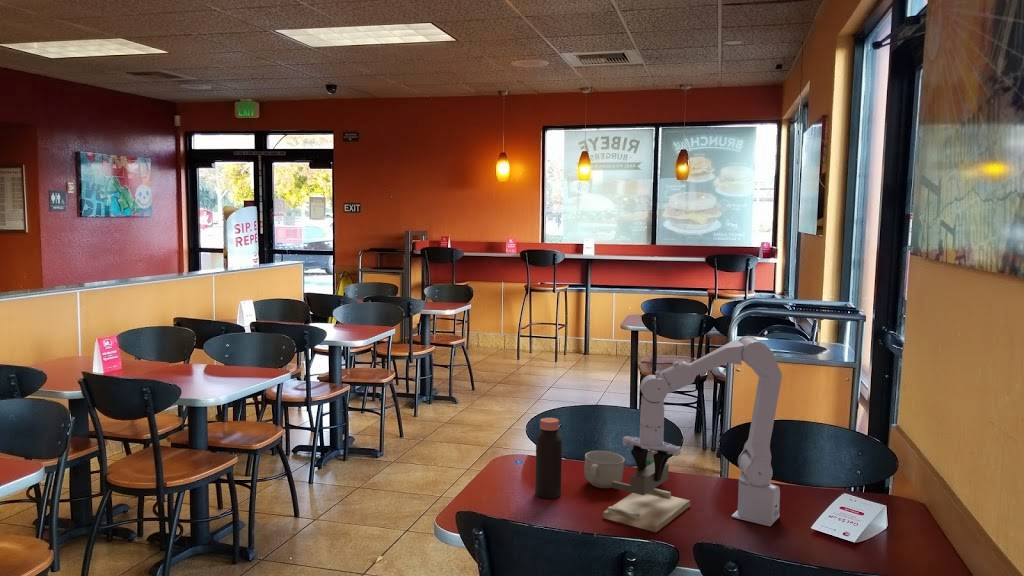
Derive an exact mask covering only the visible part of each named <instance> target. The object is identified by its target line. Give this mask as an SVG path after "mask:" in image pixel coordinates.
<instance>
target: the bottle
mask: <svg viewBox="0 0 1024 576" xmlns="http://www.w3.org/2000/svg"><path fill="white" fill-rule="evenodd" d="M559 426H560V420H559V419H558V418H556V417H543V418H541V419H540V420H539V430H540V433H539V434H538V435H537V437H535V438H536V439H535V478H534V479H535V484H534V485H535V489H534V492H535V495H536V497H538V498H541V499H547V500H548V499H549V500H552V499H557V498H559V497H560V496H561V495H562V462H563V461H562V459H563V457H562V456H563V454H562V453H563V438H562V437H561V436H560V434H559V433H558V432H559V428H560V427H559Z"/></svg>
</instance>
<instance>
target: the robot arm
mask: <svg viewBox="0 0 1024 576" xmlns="http://www.w3.org/2000/svg"><path fill="white" fill-rule="evenodd" d="M742 362H744V363H745V365H747V366H748V367H750V368H751V370H752V371H753V372H754V373H755V375H757V377H758V379H757V381H758V382H757V386H756V392H755V393H756V394H755V398H754V405H753V408H752V416H751V422H750V427H749V433H748V439H747V440H746V442H745V443H744V446H743V448H742V451H741V453H740V454H738V455H739V456H738V458H737V466H738V468H739V469H740V470H741V472H740V475H739V476H738V493H737V494H738V495H737V510H736V511H734V513H733V514H731V518H734V519H738V520H742V521H745V522H750V523H754V524H758V525H762V526H765V527H766V526H767V527H771V526H772V525H773V524H774V523H775V522H776V521H777V520H778V519H779V518H780V515H781V514H780V506H781V503H780V501H781V489H780V486H778V485H775V484H773V483H771V480H772V477H773V474H774V473H773V472H774V471H773V467H772V463H771V462H772V453H771V439H772V434H773V429H774V423H775V419H776V418H775V416H776V411H777V406H778V400H779V396H780V388H781V384H782V383H781V382H782V377H783V376H782V375H783V373H782V371H781V368H780V367H779V363H778V362H777V360H776V357H775V353H774V352H773V351H772V349H770V348H769V347H768V345H767V344H765V343H764V342H761V341H759V339H758V338H756V337H755V336H751V335H745V336H742V337H740V338H739V339H734V340H731V341H730V342H728V343H726V344H723V345H722V346H720V347H717V349H715V350H712V351H711V352H709V353H707V354H705V355H704V356H701V357H700V358H697V359H696V360H694V361H691V362H687V361H684V360H683V361H680V362H679V361H678V360H676V361H673V362H672V365H671V366H669V367H667V368H665V369H662V370H661V371H660V370H656V371H655V372H654V373H655V374H649V375H646V376H645V377H643V378H642V380H641V381H640V384H639V389H640V392H641V394H642V395H641V400H640V402H641V405H640V411H639V412H640V417H639V418H640V419H639V437H637V436H628V435H626V436H624V437H622V446H625V447H627V446H629V447H632V449H631V450H630V454H631V455H632V457H633V459H634V461H635V464H636V467H637V468H638V472H639V471H640V470H642V469H644V468H645V467H646V460H647V453H648V450H653V451H657V452H658V453H656V454H654V455H653V457H654V463H655V481H656V482H658V481H659V480H661V476H662V472H663V469H664V467H665V464H666V463H667V462H668V460H669V458H670V456H671V455H673V456H674V457H679V456H681V452H682V451H681V448H682V447H681V446H680V445H679V446H677V445H675V444H672V443H668V442H666V441H664V434H665V433H664V430H665V425H664V424H665V399H666V397H667V395H668V394H672V393H674V392H676V391H679V390H681V389H683V388H684V387H687V386H689V385H691V384H693V383H695V379H696V377H697V376H699V375H701V374H703V373H706V372H708V371H710V370H712V369H713V370H714V369H716V368H718V367H720V366H723V365H725V364H733V365H739V366H742V365H743V364H742Z"/></svg>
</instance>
